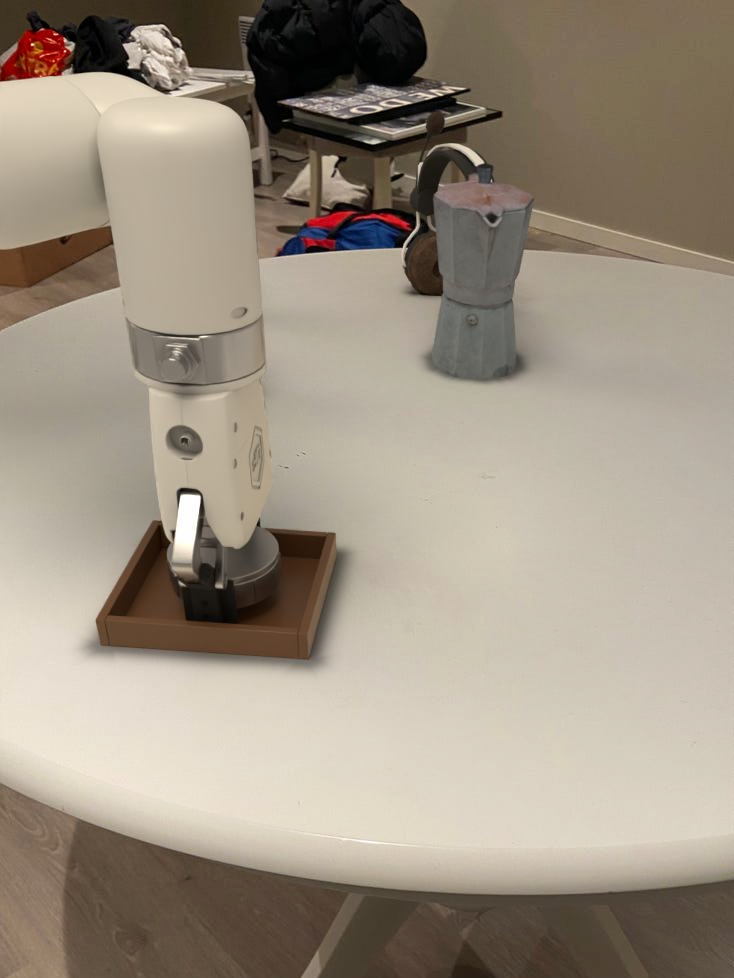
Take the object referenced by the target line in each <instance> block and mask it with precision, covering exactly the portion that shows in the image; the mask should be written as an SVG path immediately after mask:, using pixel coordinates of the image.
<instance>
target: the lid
mask: <svg viewBox="0 0 734 978" xmlns="http://www.w3.org/2000/svg"><path fill="white" fill-rule="evenodd" d="M263 528H264V527H262V526H261V527H259V526H256V527H255V529H254V531H253V534H252V536H251V538H250V539H249V541H248V542H247V543H246V544H245V545H244V546H243V547H241V548H240V549H234V547H229V549H228V581H234V590H235V600H236V609H237V608H242V607H246V606H249V605H252V604H255V603H257V602H259V601H262V600H263V599H265V598H267V597H268V596H269V595H271V594H272V593H273V592H274V591H275V590H276V589H277V587H278V585H279V583H280V579H281V574H282V568H281V555H280V553H279V546H278V542H277V540H276V538H275V537H274V536H273V535H272V534H271V533H270V532H268V531H267V530H265V529H263ZM202 536H205V537H216V536H215V534H214V532H213V531H212V529H211V527H203V530H202ZM173 545H174V544H173V543H171V544H170V545H169V547H168V550H167V559H168V561H167V566H168V572H169V579H170V582H171V584H172V588H173V591H174V592H175V594H176V595H177V597H179V598H180V599H181V600H183V596H182V590H181V587H180V586H179V579H178V576H177V574H176V573H175V572H174V571H173V570H172V567H171V559H172V552H173ZM200 557H201V559H202V563H209V564H210V565H211V566H212V567H214V568H215V548H204V547H200Z"/></svg>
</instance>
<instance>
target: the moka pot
mask: <svg viewBox="0 0 734 978" xmlns="http://www.w3.org/2000/svg"><path fill="white" fill-rule="evenodd" d="M494 169H495V167H494V165H493V164H490V163H488V162H487V163H483V164H479V165H478V166H473V167H472V169H471V171H470V174H469V175H468V182H467V181H461V182H460V181H459V182H454V183H446V184H444V185H443V186H441V188H440V189H438V191H437V192H436V193H435V194H434V197H433V203H434V225H435V229H436V237H437V249H438V262H439V272H440V274H441V275H442V276H443V292H444V293H443V294H441V298H440V304H439V311H438V316H437V322H436V328H435V333H434V334H435V335H434V340H433V346H432V351H431V362H432V364H433V366H434V368H435V369H436V370H437V371H440V372H442V373H443V374H447V375H449V376H451V377H453V378H460V379H469V380H478V381H485V380H486V381H487V380H491V379H497V378H504V377H507V376H508V375H510V374H511V373H513V371H514V370H515V369H517V368H518V361H517V342H516V326H515V308H514V307H515V306H514V300H513V297H514V294H515V287H516V280H517V279H518V276H519V274H520V271H521V266H522V261H523V256H524V251H525V248H526V247H525V246H526V242H527V236H528V232H529V227H530V222H531V219H532V218H531V217H532V213H533V207H534V203H535V197H534V195H532V194H531V193H529V192H527V191H525V190H523V189H521V188H519V187H518V186H515V185H513V184H509V183H501V182H496V181H495V182H491V178H492V175H493V173H494Z"/></svg>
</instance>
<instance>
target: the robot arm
mask: <svg viewBox="0 0 734 978" xmlns="http://www.w3.org/2000/svg"><path fill="white" fill-rule="evenodd" d="M255 203H256V202H255V191H254V173H253V161H252V151H251V141H250V135H249V133H248V129H247V126H246V124H245V122H244V120H243V119H242V118H241V115H239V113H237V112H236V111H234V110H233V109H232V107H229V106H228V105H224V104H222V103H220V102H217V101H213V100H209V99H203V98H196V97H189V96H188V97H187V96H170V95H167V94H165V93H163V92H161V91H158V90H157V89H155V88H153V87H151V86H149V85H147V84H145V83H143V82H140V81H138V80H136V79H134V78H132V77H129V76H126V75H123V74H120V73H114V72H104V71H92V72H82V73H73V74H65V75H56V76H55V75H54V76H52V75H48V76H41V77H40V76H39V77H32V78H23V79H14V80H5V81H0V250H13V249H17V248H22V247H26V246H32V245H35V244H39V243H43V242H46V241H50V240H54V239H58V238H61V237H66V236H70V235H74V234H77V233H82V232H85V231H89V230H93V229H94V230H95V229H101V228H105V227H110V228H111V229H110V230H111V236H112V243H113V248H114V252H115V253H114V255H115V261H116V266H117V273H118V274H117V275H118V281H119V288H120V293H121V298H122V306H123V311H124V319H125V325H126V331H127V337H128V344H129V349H130V350H129V351H130V356H131V362H132V370H133V374H134V376H135V378H136V379H137V380H138V381H139V382H140V383H142V384H143V385H145V386H147V389H148V408H149V410H148V411H149V424H150V439H151V449H152V459H153V460H152V461H153V469H154V477H155V478H154V479H155V485H156V494H157V500H158V507H159V513H160V518H161V521H162V523H163V528H164V531H165V534H166V537H167V538H168V539H169V541H170V542H171V543H173V544H174V545H173V552H172V559H171V567H172V570H173V571H174V572H175V573H176V574H177V576H178V579H179V586H180V587H181V590H182V596H183V603H184V610H185V616H186V621H198V622H213V623H228V624H238V618H237V609H236V600H235V590H234V581H228V549H229V547H234V549H240V548H241V547H243V546H244V545H245V544H246V543H247V542H248V541H249V539H250V538H251V536H252V534H253V531H254V529H255V527H256V526H259V527H261V528H262V526H261V515H262V512H263V510H264V507H265V505H266V503H267V500H268V497H269V495H270V493H271V489H272V486H273V481H274V466H273V458H272V449H271V441H270V433H269V426H268V419H267V417H268V415H267V409H266V402H265V401H266V400H265V395H264V394H265V393H264V388H263V381H262V378H263V376H264V375H265V374H266V372H267V369H268V363H267V362H268V361H267V351H266V350H267V349H266V335H265V323H264V310H263V297H262V286H261V285H262V283H261V271H260V270H261V269H260V258H259V257H260V256H259V245H258V233H257V217H256V216H257V215H256V204H255ZM203 527H211V529H212V531H213V532H214V534H215V536H216V537H205V536H202V530H203ZM200 547H204V548H215V568H214V567H212V566H211V565H210V564H209V563H202V559H201V557H200Z"/></svg>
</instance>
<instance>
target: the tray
mask: <svg viewBox="0 0 734 978" xmlns="http://www.w3.org/2000/svg"><path fill="white" fill-rule="evenodd" d="M262 528H263V529H265V530H267V531H268V532H270V533H271V534H272V535H273V536H274V537H275V538H276V540H277V542H278V546H279V553H280V555H281V568H282V574H281V579H280V583H279V585H278V587H277V589H276V590H275V591H274V592H273V593H272V594H271V595H269V596H268V597H267V598H265V599H263V600H262V601H259V602H257V603H255V604H252V605H249V606H246V607H242V608H237V618H238V624H228V623H213V622H198V621H186V616H185V610H184V603H183V600H181V599H180V598H179V597H177V595H176V594H175V592H174V591H173V588H172V584H171V582H170V579H169V572H168V566H167V561H168V559H167V550H168V547H169V545H170V544H171V542H170V541H169V539H168V538H167V537H166V534H165V531H164V528H163V523H162V520H159V519H157V520H156V519H153V520H152V521H151V522H150V524H149V526H148V527H147V530H146V531H145V533H144V535H143V537H142V538H141V540H140V541H139V543H138V545H137V547H136V549H135V550H134V552H133V554H132V556H131V557H130V559H129V560H128V562H127V564H126V566H125V567H124V570H123V571H122V573H121V575H120V576H119V578H118V580H117V582H116V584H114V586H113V588H112V590H111V592H110V594H109V595H108V597H107V599H106V600H105V602H104V604H103V606H102V607H101V609H100V611H99V613H98V614H97V616H96V618H95V619H94V621H95V626H96V630H97V634H98V639H99V643H100V646H101V647H114V648H115V647H116V648H127V649H128V648H130V649H145V650H157V651H158V650H160V651H175V652H186V653H187V652H188V653H189V652H190V653H202V654H203V653H204V654H217V655H218V654H219V655H230V656H231V655H234V656H248V657H261V658H277V659H290V660H291V659H292V660H306V661H308V660H309V659H310V656H311V652H312V648H313V645H314V641H315V639H316V638H315V637H316V633H317V630H318V626H319V623H320V619H321V617H322V612H323V609H324V608H323V607H324V605H325V601H326V597H327V595H328V594H327V593H328V591H329V586H330V583H331V578H332V574H333V571H334V567H335V564H336V561H337V557H338V553H337V533H336V532H332V531H318V530H317V531H316V530H315V531H314V530H304V529H303V530H301V529H287V528H274V527H273V528H272V527H271V528H270V527H262Z"/></svg>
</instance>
